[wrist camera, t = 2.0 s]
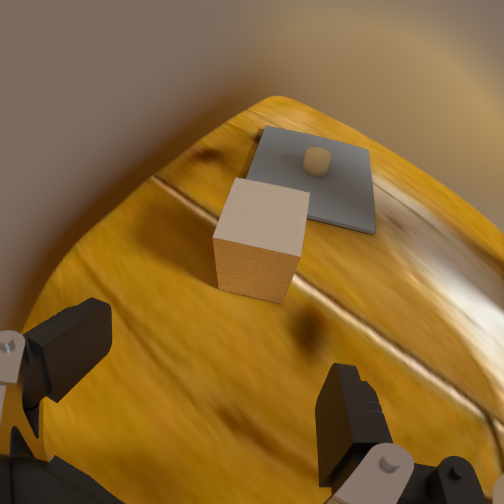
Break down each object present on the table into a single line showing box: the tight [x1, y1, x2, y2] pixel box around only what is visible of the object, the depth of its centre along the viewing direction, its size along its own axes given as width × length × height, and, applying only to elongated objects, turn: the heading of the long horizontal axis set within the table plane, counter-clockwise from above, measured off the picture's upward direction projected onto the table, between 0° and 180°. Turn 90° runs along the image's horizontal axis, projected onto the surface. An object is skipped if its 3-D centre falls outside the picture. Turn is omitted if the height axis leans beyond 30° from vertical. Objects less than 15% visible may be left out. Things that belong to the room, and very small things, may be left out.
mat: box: [246, 126, 376, 235], centre depth 34 cm, size 16×16×3 cm
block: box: [213, 178, 310, 304], centre depth 24 cm, size 6×6×8 cm
